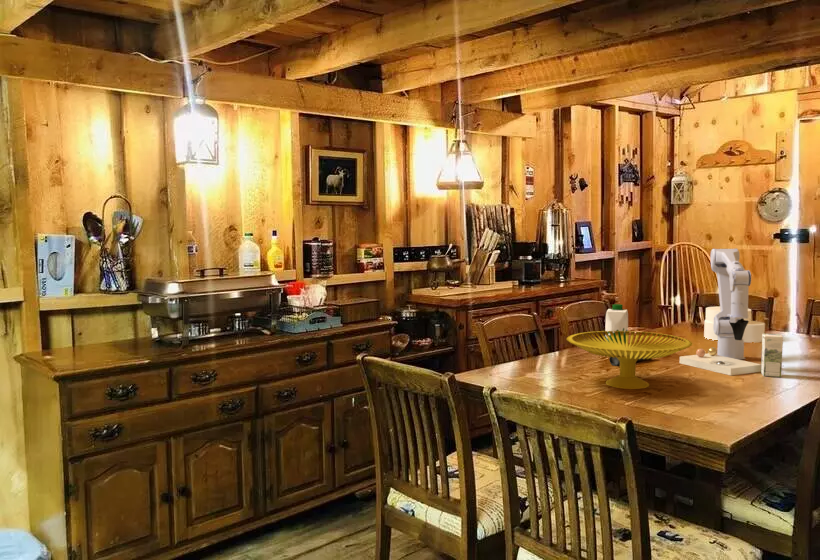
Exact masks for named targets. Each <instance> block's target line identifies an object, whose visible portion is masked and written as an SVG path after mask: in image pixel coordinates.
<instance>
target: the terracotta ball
mask: <svg viewBox="0 0 820 560" xmlns="http://www.w3.org/2000/svg"><path fill="white" fill-rule="evenodd" d="M705 354H706V351H705V349H703V348H697V350H696V352H695V355H697V356H699V357H703V356H704V355H705Z"/></svg>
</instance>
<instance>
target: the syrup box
mask: <svg viewBox="0 0 820 560" xmlns="http://www.w3.org/2000/svg"><path fill="white" fill-rule="evenodd" d="M783 343H784V338H783V335H782V334H780V333H765V334H762V342H761V363H760V364H761V373H760V374H761V375H762V376H763V377H771V378H772V377H773V378H782V372H783V371H782V370H783V369H782V367H783V366H782V365H783V347H784V346H783Z"/></svg>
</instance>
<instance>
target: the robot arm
mask: <svg viewBox="0 0 820 560" xmlns="http://www.w3.org/2000/svg"><path fill="white" fill-rule="evenodd" d="M709 256H710V258H709V259H710V268H711V271H712V272H714V273H715V274H716V279H717V286H718V287H717V288H718V299H719V306H720V311H721V312H719V313H718V314H716V315H715V317H714V325H713V329H714V333H715V334H716V335H717V336H718V341H717V348H716V350H717V354H716V355H719V356H724V357H729V358H734V359H738V360H745V359H746V357H745V353H744V352H745V342H744V341H743V339H742V338H743V334H744V331H745V328H746V326H747V324H748V322H749V321H748V320H744V319H745V318H748V309H749V290H750V288H749V287H750V286H751V284H752V274H751V271H750V270H749V269H748V270H746V269H745V267H744V266H743V263H741V262H740V256H741V255H740V251H739V249H738V248H712V249H711V250H710V255H709Z"/></svg>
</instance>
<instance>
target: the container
mask: <svg viewBox="0 0 820 560" xmlns="http://www.w3.org/2000/svg"><path fill="white" fill-rule="evenodd" d="M719 312H721V311H720V305H719V306H717V305H716V306H708V307H705V319H704V320H703V325H704V326H703V327H704V328H703V329H704V331H703V338H704V337H705V338H704V339H706V338H707V339H706V340H709V339H712V340H711V341H714V340H718V336H717V335H716V334H715V333H714V329H713V325H714V317H715V315H716V314H718V313H719ZM744 320H748V321H749V322H748V324H747V326H746V328H745V331H744V334H743V338H742V339H743V341H744V343H752V342H754V343H762V334H766V333H765V330H766V323H765V322H763V321H757V320H752V309H751V308H748V318H745V319H744Z"/></svg>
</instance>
